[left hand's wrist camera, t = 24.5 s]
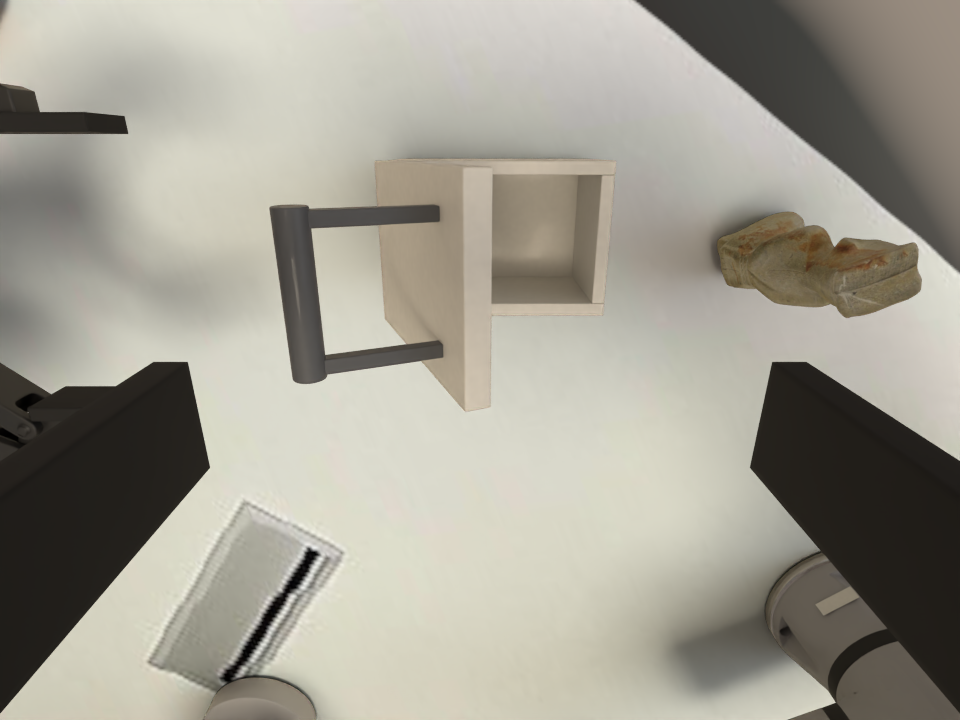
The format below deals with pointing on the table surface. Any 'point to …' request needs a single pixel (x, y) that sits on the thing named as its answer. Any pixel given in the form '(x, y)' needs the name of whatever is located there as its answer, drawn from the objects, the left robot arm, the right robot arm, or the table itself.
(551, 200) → the chest
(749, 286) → the sculpture
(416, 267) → the lid
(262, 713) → the bust sculpture
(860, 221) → the table surface
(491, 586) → the table surface
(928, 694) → the left robot arm
